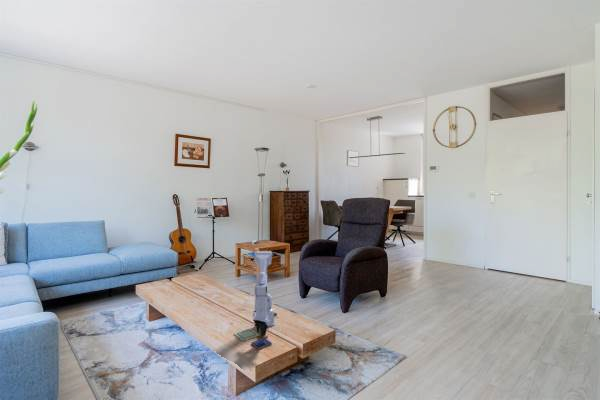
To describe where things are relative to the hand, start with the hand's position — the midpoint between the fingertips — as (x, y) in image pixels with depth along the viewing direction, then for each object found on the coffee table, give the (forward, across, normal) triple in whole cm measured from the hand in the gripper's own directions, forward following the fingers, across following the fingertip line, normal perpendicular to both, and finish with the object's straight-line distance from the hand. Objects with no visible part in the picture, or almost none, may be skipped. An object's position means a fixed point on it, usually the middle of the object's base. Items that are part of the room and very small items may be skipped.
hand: (261, 334), depth 167 cm
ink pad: (+6, 0, 0) cm, 6 cm away
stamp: (+3, 0, 0) cm, 3 cm away
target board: (+6, -14, -1) cm, 15 cm away
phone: (+6, -33, +23) cm, 41 cm away
